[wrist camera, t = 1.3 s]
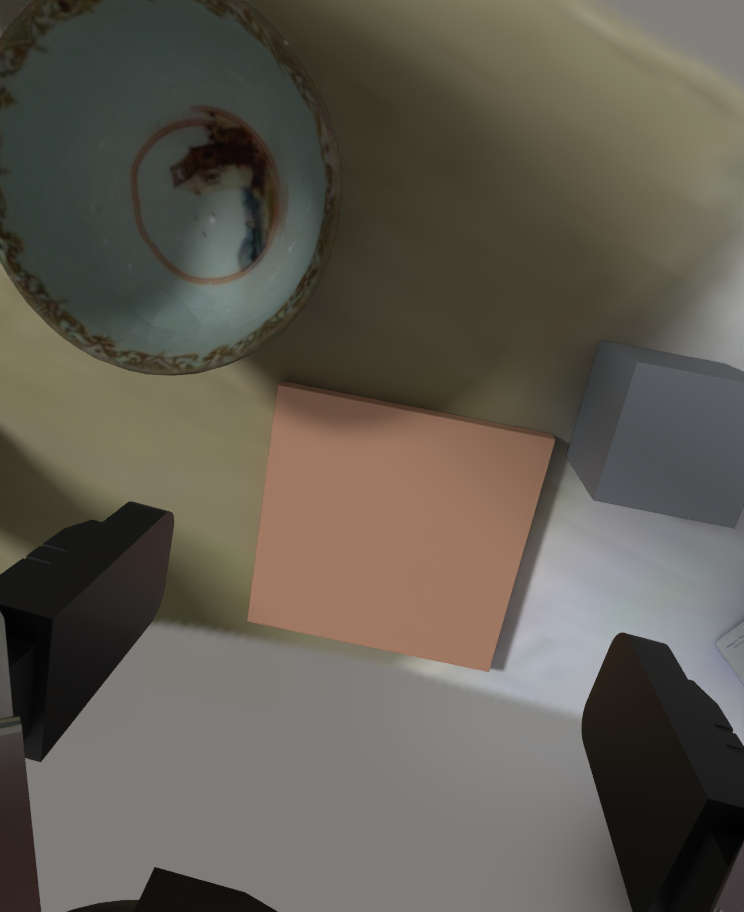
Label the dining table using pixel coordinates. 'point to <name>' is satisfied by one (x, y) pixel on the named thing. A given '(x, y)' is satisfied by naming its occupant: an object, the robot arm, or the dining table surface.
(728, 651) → the medicine box
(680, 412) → the slate cube
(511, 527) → the terracotta tile
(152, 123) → the bowl
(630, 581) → the dining table surface
